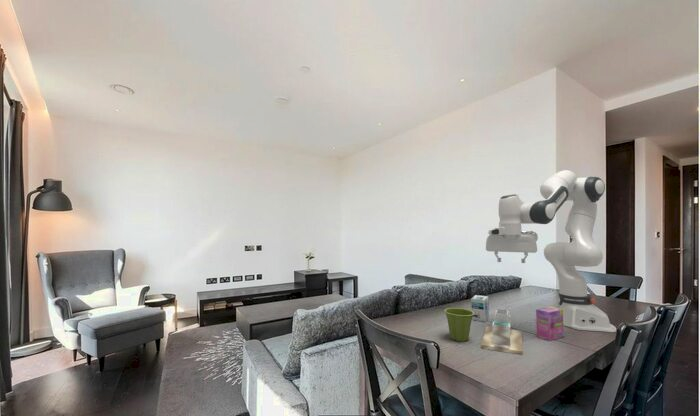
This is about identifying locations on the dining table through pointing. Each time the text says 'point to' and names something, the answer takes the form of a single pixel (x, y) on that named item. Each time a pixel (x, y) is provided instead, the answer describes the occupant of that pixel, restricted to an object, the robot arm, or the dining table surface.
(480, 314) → the light bulb box
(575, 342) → the dining table surface
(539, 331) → the box
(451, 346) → the dining table surface
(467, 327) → the plant pot
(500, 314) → the block
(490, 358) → the dining table surface
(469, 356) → the dining table surface
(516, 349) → the board
